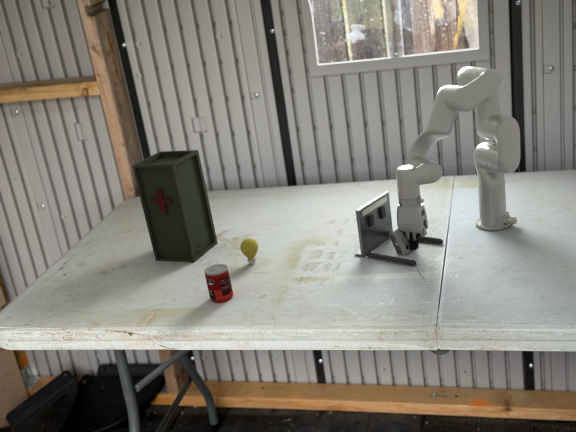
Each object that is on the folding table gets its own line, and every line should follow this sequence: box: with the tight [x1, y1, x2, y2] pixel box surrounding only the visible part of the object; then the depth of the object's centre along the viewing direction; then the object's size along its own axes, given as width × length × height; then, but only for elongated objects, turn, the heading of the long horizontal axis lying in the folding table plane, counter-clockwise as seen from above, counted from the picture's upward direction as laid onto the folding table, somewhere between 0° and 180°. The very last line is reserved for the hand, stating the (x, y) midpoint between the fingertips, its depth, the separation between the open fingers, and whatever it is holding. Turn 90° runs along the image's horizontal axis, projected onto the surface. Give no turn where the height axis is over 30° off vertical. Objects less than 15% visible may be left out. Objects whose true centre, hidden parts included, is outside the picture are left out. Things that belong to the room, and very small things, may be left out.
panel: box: [354, 190, 394, 258], centre depth 242 cm, size 5×20×18 cm, turn 139°
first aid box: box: [131, 149, 218, 263], centre depth 261 cm, size 18×18×40 cm
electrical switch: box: [389, 228, 412, 256], centre depth 236 cm, size 9×5×9 cm, turn 139°
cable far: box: [418, 235, 444, 245], centre depth 243 cm, size 20×2×2 cm, turn 49°
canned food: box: [203, 263, 234, 304], centre depth 222 cm, size 8×8×11 cm
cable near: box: [365, 252, 417, 267], centre depth 230 cm, size 20×2×2 cm, turn 49°
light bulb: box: [239, 237, 259, 266], centre depth 245 cm, size 7×7×10 cm
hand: (414, 249), depth 234 cm, fingers closed
